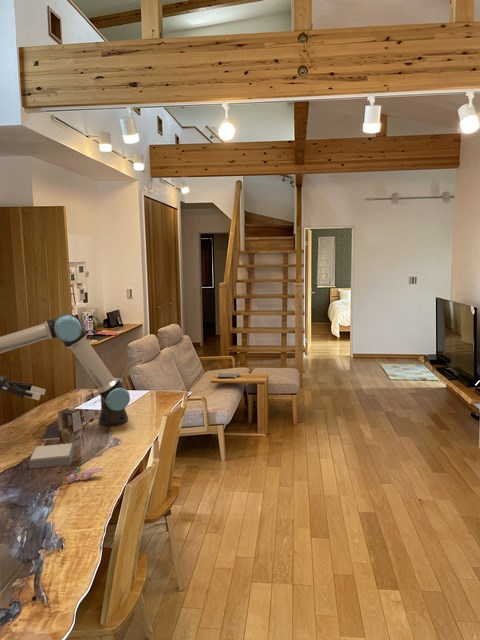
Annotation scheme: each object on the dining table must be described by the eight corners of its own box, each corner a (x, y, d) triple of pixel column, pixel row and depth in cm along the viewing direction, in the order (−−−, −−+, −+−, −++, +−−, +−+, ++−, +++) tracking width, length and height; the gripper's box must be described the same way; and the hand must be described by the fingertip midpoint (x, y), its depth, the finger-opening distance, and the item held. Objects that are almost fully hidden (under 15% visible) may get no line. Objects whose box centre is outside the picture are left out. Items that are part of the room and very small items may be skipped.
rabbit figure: (64, 489, 192) (104, 477, 196) (60, 474, 191) (101, 462, 195) (65, 482, 198) (104, 471, 202) (61, 468, 197) (100, 457, 201)
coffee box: (84, 443, 238) (82, 409, 237) (74, 447, 233) (72, 413, 231) (69, 440, 242) (67, 407, 240) (59, 445, 236) (57, 411, 235)
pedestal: (74, 451, 228) (73, 442, 228) (70, 464, 213) (69, 455, 212) (36, 455, 225) (35, 446, 224) (29, 469, 209) (28, 459, 209)
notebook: (49, 428, 264) (42, 441, 244) (49, 425, 264) (42, 438, 243) (75, 425, 267) (70, 439, 246) (74, 423, 267) (70, 436, 246)
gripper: (-1, 385, 244) (44, 397, 248) (-16, 394, 219) (35, 407, 224) (4, 370, 244) (49, 383, 248) (-10, 378, 220) (40, 391, 224)
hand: (42, 394), depth 236 cm, fingers open, 13 cm apart
